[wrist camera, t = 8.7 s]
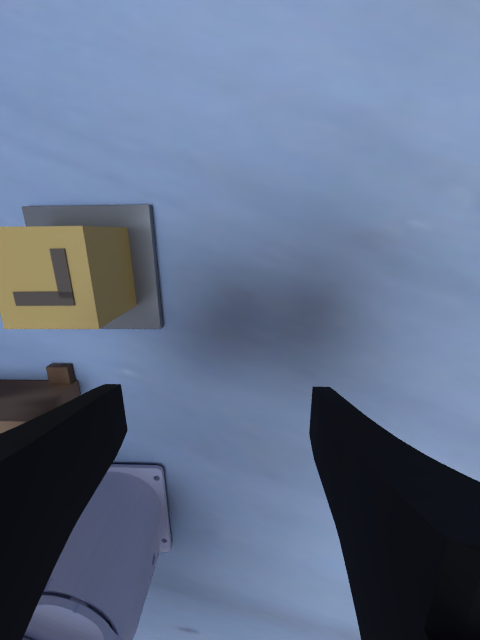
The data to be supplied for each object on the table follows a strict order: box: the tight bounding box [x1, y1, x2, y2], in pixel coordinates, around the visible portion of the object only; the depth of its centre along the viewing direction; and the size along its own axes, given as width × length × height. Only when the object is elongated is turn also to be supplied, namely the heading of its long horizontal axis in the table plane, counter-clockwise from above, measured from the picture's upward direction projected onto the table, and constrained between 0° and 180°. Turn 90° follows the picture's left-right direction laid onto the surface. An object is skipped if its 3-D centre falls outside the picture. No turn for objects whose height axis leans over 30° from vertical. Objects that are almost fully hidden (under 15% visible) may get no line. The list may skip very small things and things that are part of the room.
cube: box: [0, 226, 137, 329], centre depth 16 cm, size 5×5×5 cm
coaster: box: [22, 205, 163, 329], centre depth 19 cm, size 8×8×1 cm
